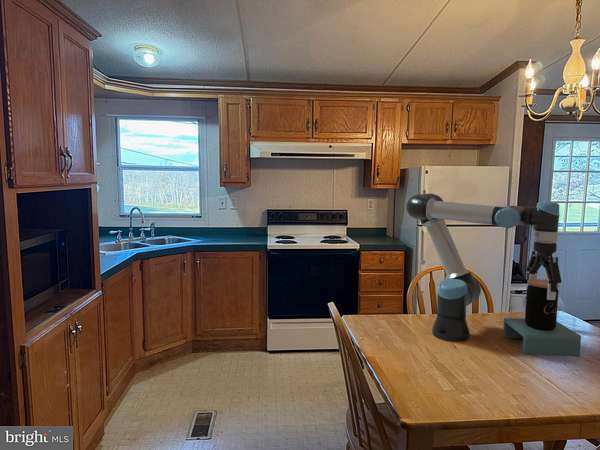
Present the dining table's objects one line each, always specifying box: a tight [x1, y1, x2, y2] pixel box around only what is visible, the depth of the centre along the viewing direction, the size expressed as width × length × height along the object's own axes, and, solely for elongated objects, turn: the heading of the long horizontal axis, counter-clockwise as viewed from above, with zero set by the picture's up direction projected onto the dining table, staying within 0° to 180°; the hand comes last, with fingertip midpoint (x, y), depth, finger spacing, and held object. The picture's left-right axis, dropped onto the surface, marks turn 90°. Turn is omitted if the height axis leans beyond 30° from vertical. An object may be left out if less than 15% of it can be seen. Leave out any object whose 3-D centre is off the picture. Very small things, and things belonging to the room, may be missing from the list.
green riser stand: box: [502, 317, 582, 357], centre depth 153 cm, size 20×18×8 cm
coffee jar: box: [524, 278, 560, 331], centre depth 151 cm, size 11×11×18 cm
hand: (541, 294), depth 151 cm, fingers open, 13 cm apart
